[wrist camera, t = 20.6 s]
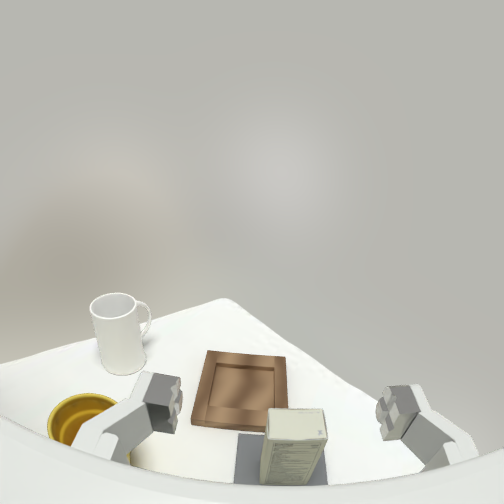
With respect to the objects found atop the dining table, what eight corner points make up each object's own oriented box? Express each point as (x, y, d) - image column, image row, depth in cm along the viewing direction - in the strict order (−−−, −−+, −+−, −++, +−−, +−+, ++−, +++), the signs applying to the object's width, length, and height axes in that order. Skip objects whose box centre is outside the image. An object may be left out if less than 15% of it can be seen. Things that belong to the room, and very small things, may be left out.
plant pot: (118, 424, 38) (102, 380, 34) (159, 471, 32) (146, 433, 28) (61, 451, 31) (35, 410, 27) (97, 506, 25) (68, 474, 21)
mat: (231, 506, 28) (231, 505, 28) (238, 435, 39) (238, 433, 39) (328, 507, 28) (329, 506, 28) (321, 438, 39) (322, 436, 39)
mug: (144, 333, 59) (138, 281, 55) (169, 355, 54) (164, 300, 50) (94, 356, 51) (80, 301, 46) (115, 382, 46) (100, 326, 41)
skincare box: (305, 460, 35) (325, 407, 30) (306, 486, 31) (330, 439, 26) (258, 458, 35) (268, 405, 31) (257, 486, 31) (267, 438, 26)
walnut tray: (191, 424, 40) (190, 418, 40) (207, 356, 55) (207, 350, 55) (287, 433, 40) (288, 427, 40) (284, 363, 55) (285, 356, 54)
